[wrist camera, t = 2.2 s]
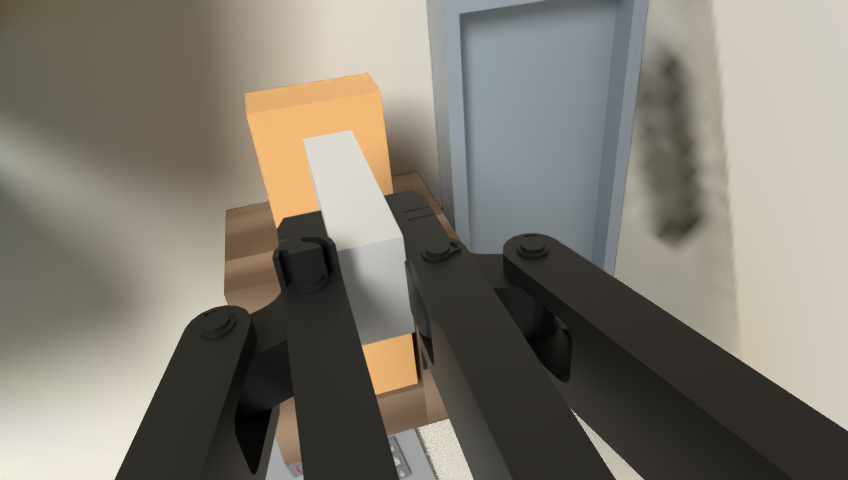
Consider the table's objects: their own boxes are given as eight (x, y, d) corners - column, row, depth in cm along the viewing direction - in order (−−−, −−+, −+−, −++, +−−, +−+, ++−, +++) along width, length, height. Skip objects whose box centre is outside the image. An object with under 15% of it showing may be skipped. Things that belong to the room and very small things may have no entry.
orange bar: (244, 93, 23) (245, 114, 21) (367, 72, 24) (380, 91, 22) (319, 374, 32) (325, 408, 29) (406, 351, 32) (417, 383, 30)
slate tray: (425, -12, 27) (441, -3, 25) (623, -40, 29) (652, -34, 27) (452, 350, 41) (464, 375, 39) (588, 314, 42) (605, 336, 40)
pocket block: (226, 210, 30) (224, 294, 24) (417, 171, 32) (459, 239, 26) (276, 368, 37) (285, 465, 31) (432, 328, 39) (469, 412, 33)
